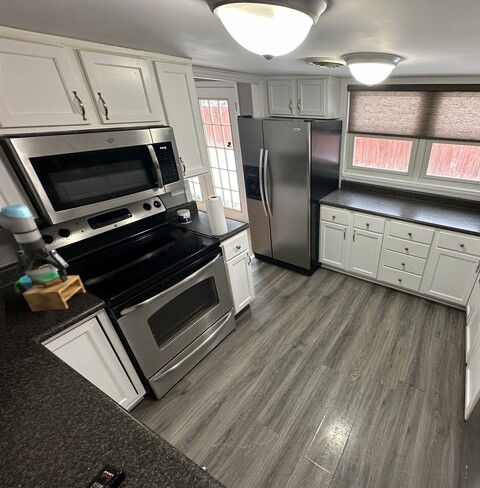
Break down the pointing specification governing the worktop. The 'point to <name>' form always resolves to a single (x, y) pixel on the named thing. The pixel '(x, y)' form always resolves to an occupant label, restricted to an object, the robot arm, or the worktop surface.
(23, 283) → the snack cup
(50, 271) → the food container
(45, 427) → the worktop surface
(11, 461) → the worktop surface
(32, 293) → the shelf
